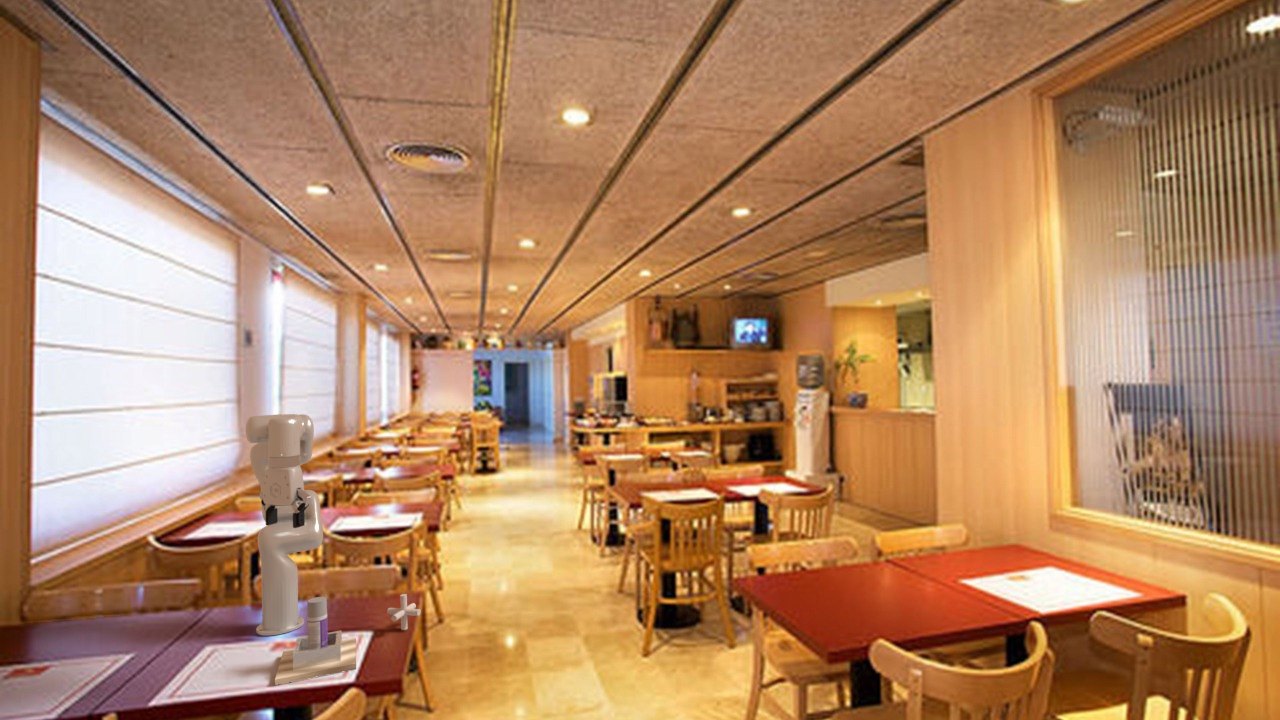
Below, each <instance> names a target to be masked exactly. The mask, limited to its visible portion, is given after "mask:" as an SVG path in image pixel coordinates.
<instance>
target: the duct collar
mask: <svg viewBox="0 0 1280 720" xmlns="http://www.w3.org/2000/svg"><path fill="white" fill-rule="evenodd" d="M342 640H343V639H342V630H335V631H332V632H328V646H324V647H319V648H314V649H308V636H303V637H298V638H297V637H296V641H295V644H294V648H293V649H294V652H293V670H297V669H302V668H307V667H312V666H317V665H322V664H327V663H332V662H337V661H341V649H342Z"/></svg>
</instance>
